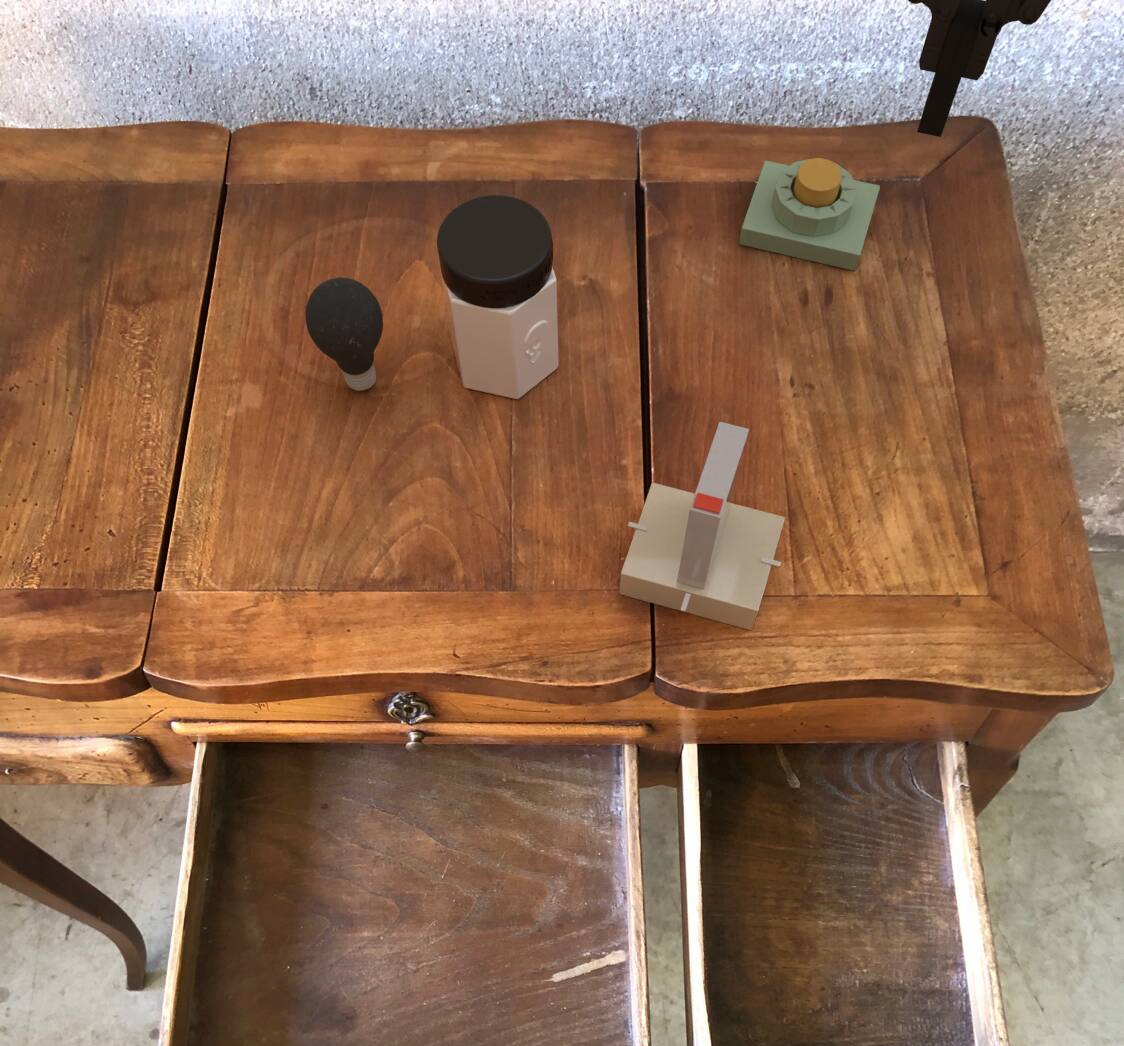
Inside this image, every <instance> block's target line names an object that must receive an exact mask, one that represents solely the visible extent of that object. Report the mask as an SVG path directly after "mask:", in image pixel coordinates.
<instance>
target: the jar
mask: <svg viewBox="0 0 1124 1046" xmlns="http://www.w3.org/2000/svg"><path fill="white" fill-rule="evenodd" d="M436 249H437V255H438V256H437V258H438V265H439V271H440V277H441V284H442V290H443V291H442V292H443V296H444V303H445V309H446V315H447V321H448V328H449V335H450V340H451V346H452V349H453V353H454V357H455V360H456V361H455V362H456V365H457V368H458V371H459V375H460V380H461V383H462V386H463V388H465V389H469V390H473V391H478V392H483V393H486V394H491V395H496V396H500V397H506V398H509V399H514V400H520V399H521V398H522V397H524V396H525V394H527V393H528V392H529V391H530V390H532V389H533V388H535V387H536V386H537V385H538V384H540V383H541V382H542V381H543V380H545V379H546V378H547V377H548V376H549V375H551V374H552V373H553V372H555V371H556V370H557V369H558V368H559V364H560V363H559V362H560V361H559V359H560V358H559V326H558V321H559V320H558V287H557V286H558V285H557V282H558V281H557V277H556V273H555V271H554V267H553V262H554V241H553V237H552V229H551V226H550V224H549V221H548V220H547V218H546V217H545V215H544V214H543V213H542V212H541V211H540V209H538V208H537V207H536V206H535V205H533V204H531V203H530V202H527V201H526V200H524V199H521V198H518V197H516V196H511V195H505V194H488V195H482V196H477V197H474V198H471V199H469V200H466V201H463V202H462V203H460V204H458V205H457V206H456V207H454V208H453V209H451V211H450V212H448V214H447V215H446V216H445V217H444V219H443V220H442V222H441V223H440V226H439V227H438V231H437V235H436Z"/></svg>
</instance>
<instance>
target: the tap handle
mask: <svg viewBox="0 0 1124 1046" xmlns="http://www.w3.org/2000/svg"><path fill="white" fill-rule="evenodd" d="M749 433H750V428H747V427H743V426H739V425H736V424H732V423H727V422H725V421H724V422H723V421H719V422H718V424H717V427H716V429H715V433H714V435H713V439H712V441H711V445H710V448H709V451H708V454H707V457H706V459H705V462H704V466H703V468H702V471H701V475H700V477H699V480H698V484H697V486H696V489H695V492H694V493H695V495H694V498H693V501H692V504H691V507H690V510H689V516H688V522H687V527H686V533H685V538H684V544H683V550H682V555H681V561H680V567H679V572H678V578H677V582H680V583H684V584H688V585H691V586H695V587H698V588H702V589H704V588H705V585H706V582H707V579H708V576H709V573H710V570H711V567H712V564H713V560H714V557H715V554H716V551H717V548H718V545H719V542H720V539H721V536H722V533H723V529H724V526H725V523H726V520H727V517H728V514H729V511H730V508H731V503H733V499H734V495H735V492H736V491H735V490H736V487H737V484H738V478H739V475H740V470H741V466H742V461H743V458H744V453H745V449H746V446H747V441H748V437H749Z"/></svg>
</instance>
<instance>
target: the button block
mask: <svg viewBox="0 0 1124 1046" xmlns="http://www.w3.org/2000/svg"><path fill="white" fill-rule="evenodd" d="M810 159H811V158H808V159H802V160H797V161H794V162H793V163H791V164H790V165H788V164H783V163H779V162H775V161H771V160H764V162H763V165H762V166H761V167H762V168H761V170H760V173H759V176H758V180H757V182H756V185H755V188H754V191H753V193H752V197H751V199H750V203H749V205H748V207H747V208H748V209H747V212H746V214H745V217H744V219H743V223H742V226H741V228H740V229H741V230H740V235H739V240H738V244H739V245H740V246H745V247H750V248H753V249H758V250H763V251H767V252H771V253H775V254H779V255H784V256H787V257H788V256H789V257H793V258H797V259H801V260H804V261H805V260H806V261H810V262H814V263H819V264H822V265H826V266H827V265H828V266H830V267H836V268H839V269H845V270H849V271H853V272H855V271H856V270H857V267H858V264H859V262H860V258H861V254H862V252H863V248H864V245H865V241H866V238H867V235H868V230H869V227H870V223H871V220H872V217H873V213H874V210H875V206H876V203H877V199H878V196H879V193H880V189H881V185H879V184H873V183H870V182H866V181H860V180H857V179H854V178H853V176H852V174H851V173H850V172H849V171H847V170H846V169H844V168H843V167H842V166H840V165H839V164H838V163H835V162H834V163H835V164H836V165H837V166H838V167H839V168H840V170H841V173H842V180H841V183H840V187H839V191H838V194H837V197H836V199H835V201H834V202H833V203H832V204H831V205H829V206H827V207H821V208H814V207H810V206H805V205H803V204H802V203H800V202H799V201H798V200H797V199H796V198H795V196H794V192H793V190H794V185H795V180H796V176H797V171H798V169H799V167H800V166H801V164H802V163H804V162H805V161H807V160H810Z"/></svg>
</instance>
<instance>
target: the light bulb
mask: <svg viewBox="0 0 1124 1046" xmlns="http://www.w3.org/2000/svg"><path fill="white" fill-rule="evenodd" d="M304 319H305V325H306V329H307V332H308V333H307V334H308V335H309V336H310V339H311V340H312V342H313V344H314V345H315V346H316V348H318V350H319V351H321V352H322V353H323V354H324V355H326V356H327V357H328V358H330V359H332V360H333V361H335V363H336V365H337V366H338V368H339V369H340V370H341V371H342V375H343V378H344V381H345V383H346V384H347V386H348V387H349V388H350V389H352V390H354V391H366V390H368V389H370V388H371V387H372V386H373V385H374V384H375V383H376V381H377V375H376V373H377V371H376V368H375V364H374V362H375V361H374V360H375V351H376V349H377V347H378V345H379V343H380V341H381V339H382V335H383V330H384V315H383V312H382V308H381V305H380V302H379V301H378V298H377V297H376V296H375V295H374V293H373V292H372V291H371V290H370V289H369V288H368V287H367V286H366V285H365V284H363V283H362V282H360V281H357V280H355V279H353V278H350V277H349V278H348V277H340V276H339V277H333V278H329V279H327V280H325V281H323V282H321V283H320V284H318V285H317V287H316V288H315V289H313V291H312V292H311V294H310V295H309V298H308V300H307V303H306V306H305V318H304Z"/></svg>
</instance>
